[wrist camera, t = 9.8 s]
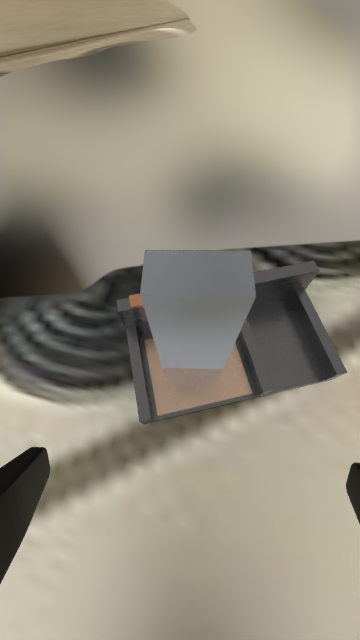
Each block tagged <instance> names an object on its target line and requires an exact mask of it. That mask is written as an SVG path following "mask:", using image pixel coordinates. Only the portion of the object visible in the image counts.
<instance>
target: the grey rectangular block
mask: <svg viewBox="0 0 360 640" xmlns="http://www.w3.org/2000/svg"><path fill="white" fill-rule="evenodd" d="M140 297H141V300H142V303H143V307H144V310H145V313H146V316H147V320H148V323H149V326H150V329H151V333H152V336H153V339H154V342H155V346H156V349H157V352H158V355H159V359H160V362H161V365H162V368H197V369H223V368H224V366H225V363H226V361H227V359H228V357H229V355H230V352H231V350H232V348H233V346H234V344H235V342H236V339H237V337H238V335H239V333H240V331H241V328H242V326H243V324H244V322H245V320H246V317H247V315H248V313H249V311H250V309H251V306H252V304H253V302H254V300H255V298H256V292H255V283H254V274H253V265H252V256H251V251H213V250H145V255H144V264H143V272H142V281H141V290H140Z"/></svg>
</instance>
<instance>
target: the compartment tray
mask: <svg viewBox="0 0 360 640" xmlns="http://www.w3.org/2000/svg"><path fill="white" fill-rule="evenodd" d="M318 272H319V269H318V267H317V265H316V264H315V262H314V261H309V262H304V263H299V264H294V265H289V266H284V267H279V268H274V269H269V270H264V271H259V272H255V273H253V274H254V283H255V292H256V298H255V300H254V302H253V304H252V306H251V309H250V311H249V313H248V315H247V317H246V320H245V322H244V324H243V326H242V328H241V331H240V333H239V335H238V337H237V339H236V342H235V344H234V346H233V348H232V350H231V352H230V355H229V357H228V359H227V361H226V363H225V366H224V368H223V369H197V368H162V365H161V362H160V359H159V355H158V352H157V349H156V346H155V342H154V339H153V336H152V333H151V329H150V326H149V323H148V320H147V316H146V313H145V310H144V307H143V303H142V300H141V297H140V293H139V294H134V295H129V298H126V299H121V300H117V308H118V313H119V315H120V317H121V319H122V321H123V323H124V325H125V327H126V331H127V338H128V345H129V352H130V359H131V366H132V372H133V379H134V386H135V393H136V400H137V407H138V414H139V421H140V422H141V423H143V424H147V423H152V422H156V421H160V420H164V419H168V418H173V417H177V416H181V415H185V414H189V413H193V412H198V411H202V410H206V409H210V408H214V407H219V406H223V405H227V404H231V403H235V402H239V401H244V400H248V399H252V398H256V397H260V396H265V395H269V394H273V393H277V392H281V391H285V390H290V389H294V388H298V387H302V386H306V385H311V384H315V383H319V382H323V381H327V380H331V379H334V378H336V377H338V376H341V375H343V374H345V373H347V371H346V369H345V367H344V365H343V363H342V361H341V359H340V357H339V355H338V353H337V351H336V350H335V348H334V346H333V344H332V342H331V340H330V338H329V336H328V334H327V332H326V330H325V328H324V326H323V324H322V322H321V320H320V318H319V316H318V314H317V313H316V311H315V309H314V307H313V305H312V303H311V301H310V299H309V297H308V295H307V293H306V291H305V289H306V288H307V286H308V285H309V284H310V282H311V281H312V280H313V278H314V277H315V276H316V274H317V273H318Z"/></svg>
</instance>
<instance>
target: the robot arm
mask: <svg viewBox="0 0 360 640" xmlns="http://www.w3.org/2000/svg"><path fill="white" fill-rule="evenodd" d="M49 474H50V464H49V459H48V453H47V450H46V448H44V447H31V448H29V449H28V450H26V451H25V452H23V453H22V454H20V455H19V456H17V457H16V458H14V459H13V460H11V461H10V462H8V463H7V464H6V465H4V466H3V467H1V468H0V584H1V582H2V580H3V578H4V576H5V574H6V572H7V570H8V568H9V566H10V564H11V562H12V560H13V558H14V556H15V554H16V552H17V550H18V548H19V546H20V544H21V542H22V540H23V538H24V536H25V534H26V532H27V529H28V527H29V525H30V522H31V520H32V517H33V515H34V512H35V510H36V507H37V505H38V502H39V500H40V497H41V495H42V493H43V490H44V488H45V485H46V483H47V480H48V478H49ZM346 490H347V493H348V496H349V498H350V501H351V503H352V506H353V508H354V511H355V513H356V516H357V518H358V521H359V523H360V463H353V464H352V465H351V468H350V472H349V475H348V479H347V482H346Z"/></svg>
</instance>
